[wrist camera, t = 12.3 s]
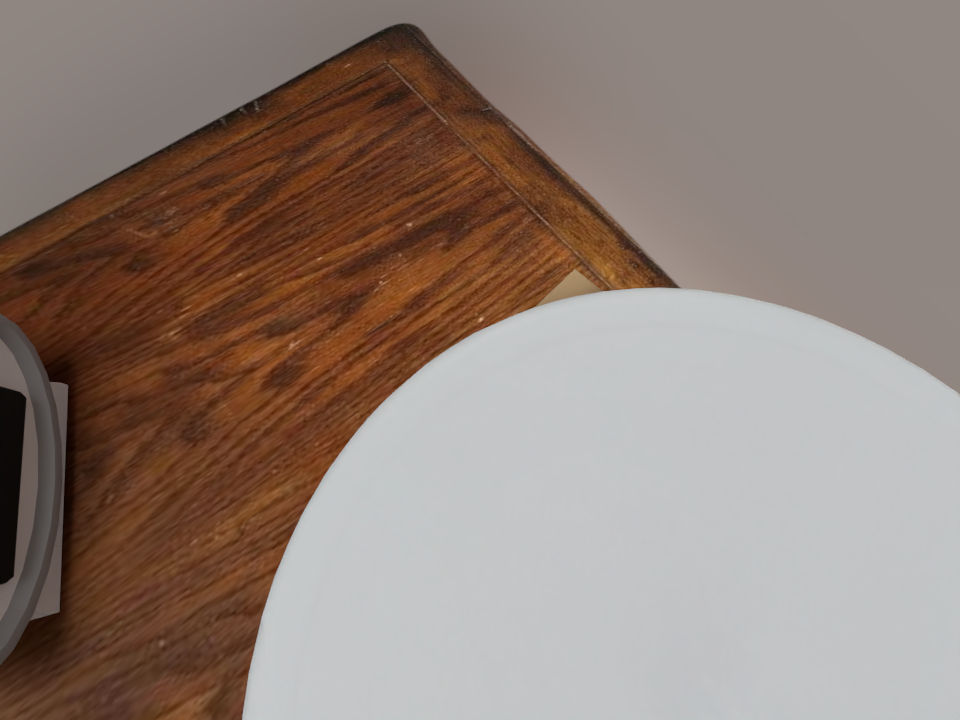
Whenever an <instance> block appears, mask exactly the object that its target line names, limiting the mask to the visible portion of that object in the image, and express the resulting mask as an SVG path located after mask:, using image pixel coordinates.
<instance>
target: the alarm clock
mask: <svg viewBox="0 0 960 720" xmlns="http://www.w3.org/2000/svg"><path fill="white" fill-rule="evenodd" d="M67 405H68V385H67V384H64V383H59V382H49V378H48V375H47V372H46V370H45V368H44V366H43V364H42V362H41V360H40V357H39V355H38V353H37V351H36V349H35V347H34V345H33V344H32V343H31V342H30V340H29V339H28V338H27V337H26V335H25V334H24V333H23V331H22V330H21V329H20V328H19V326H18V325H16V324H15V323H13V322H12V321H10V320H9V319H7V318H6V317H4V316H3V315H1V314H0V665H1V664H2V663H3V662H4V661H5V659H6V658H7V657H8V656H9V655H10V654H11V653H12V651H13V650H14V648H15V647H16V645H17V643H18V641H19V639H20V637H21V636H22V634H23V632H24V630H25V628H26V627H27V625H28V623H29V621H30V620H34V619H37V618H41V617H44V616H48V615H51V614H55V613H58V612H59V610H60V584H61V559H62V534H63V508H64V482H65V457H66V431H67Z"/></svg>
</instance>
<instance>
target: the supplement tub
mask: <svg viewBox="0 0 960 720" xmlns="http://www.w3.org/2000/svg"><path fill="white" fill-rule="evenodd" d="M242 720H960V394H958V393H957V392H956V391H954V390H953V389H951V388H950V387H948V386H947V385H945V384H944V383H942V382H941V381H939V380H938V379H936V378H935V377H933V376H932V375H930V374H929V373H928V372H926V371H924V370H923V369H921V368H920V367H918V366H916V365H914V364H913V363H911V362H909V361H908V360H906V359H904V358H902V357H901V356H899V355H897V354H895V353H893V352H892V351H890V350H888V349H887V348H884V347H882V346H880V345H878V344H876V343H874V342H872V341H870V340H868V339H866V338H864V337H862V336H860V335H858V334H855V333H853V332H851V331H849V330H846V329H844V328H841V327H839V326H837V325H834V324H832V323H830V322H828V321H825V320H822V319H821V318H818V317H815V316H812V315H809V314H806V313H802V312H799V311H796V310H793V309H790V308H787V307H784V306H780V305H776V304H771V303H768V302H763V301H759V300H755V299H751V298H747V297H742V296H737V295H731V294H724V293H718V292H711V291H704V290H697V289H677V288H636V289H624V290H614V291H604V292H597V293H591V294H585V295H580V296H574V297H570V298H566V299H562V300H558V301H554V302H551V303H547V304H544V305H541V306H537V307H534V308H532V309H529V310H527V311H524V312H522V313H519V314H517V315H514V316H512V317H509V318H507V319H505V320H502V321H500V322H498V323H496V324H493V325H491V326H489V327H487V328H485V329H482V330H480V331H478V332H476V333H474V334H472V335H470V336H469V337H467V338H465V339H464V340H462V341H460V342H459V343H457V344H456V345H454V346H452V347H451V348H449V349H447V350H446V351H444V352H443V353H442V354H440V355H439V356H437V357H436V358H434V359H433V360H432V361H430V362H429V363H427V364H426V365H425V366H424V367H423V368H421V369H420V370H419V371H418V372H417V373H415V374H414V375H413V376H412V377H411V378H410V379H408V380H407V381H406V382H405V383H404V384H403V385H401V386H400V387H399V388H398V389H397V390H396V391H394V392H393V393H392V394H391V395H390V396H389V397H388V398H387V399H386V400H385V401H384V402H383V403H382V404H381V405H380V406H379V407H378V408H377V409H376V410H375V411H374V412H373V413H372V414H371V415H370V416H369V418H368V419H367V420H366V421H365V422H364V423H363V425H362V426H361V427H360V428H359V429H358V431H357V432H356V433H355V434H354V436H353V437H352V438H351V439H350V441H349V442H348V443H347V445H346V446H345V447H344V449H343V450H342V451H341V453H340V454H339V456H338V457H337V458H336V460H335V461H334V463H333V464H332V465H331V467H330V468H329V469H328V471H327V472H326V474H325V476H324V477H323V479H322V481H321V483H320V484H319V486H318V488H317V489H316V491H315V493H314V495H313V496H312V498H311V500H310V501H309V503H308V505H307V507H306V508H305V510H304V512H303V514H302V516H301V518H300V520H299V522H298V524H297V526H296V528H295V530H294V533H293V535H292V537H291V539H290V541H289V544H288V546H287V548H286V551H285V553H284V555H283V558H282V560H281V563H280V565H279V567H278V570H277V572H276V574H275V577H274V580H273V583H272V586H271V590H270V593H269V596H268V599H267V602H266V606H265V609H264V612H263V615H262V618H261V623H260V627H259V631H258V636H257V640H256V644H255V649H254V653H253V657H252V662H251V666H250V671H249V676H248V683H247V689H246V696H245V703H244V709H243V716H242Z"/></svg>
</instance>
